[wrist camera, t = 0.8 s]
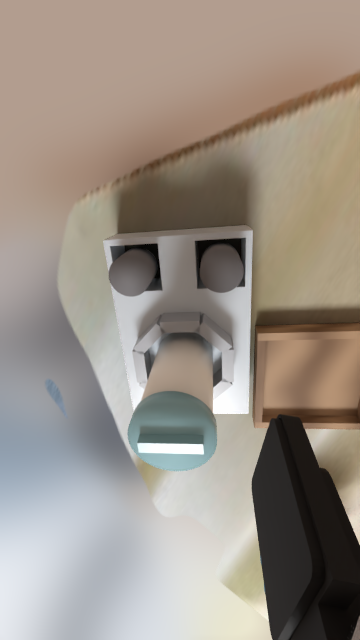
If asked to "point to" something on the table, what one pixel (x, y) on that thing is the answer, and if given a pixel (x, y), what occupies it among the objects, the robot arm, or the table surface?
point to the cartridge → (177, 406)
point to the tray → (308, 374)
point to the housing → (187, 312)
